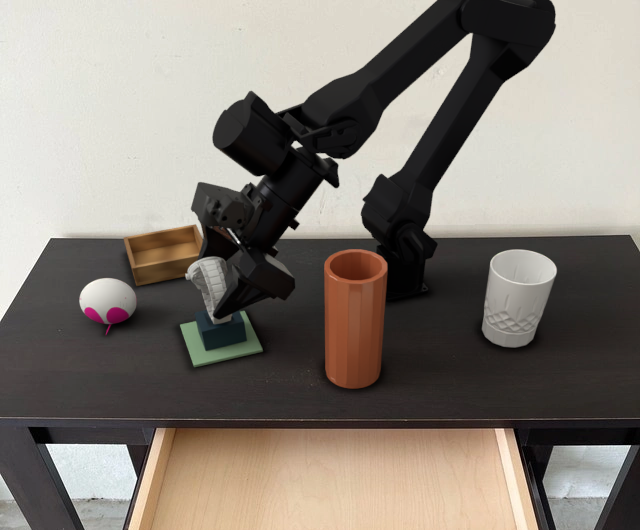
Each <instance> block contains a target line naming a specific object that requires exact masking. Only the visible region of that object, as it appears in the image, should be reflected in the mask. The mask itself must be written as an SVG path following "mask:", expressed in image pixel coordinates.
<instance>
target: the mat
mask: <svg viewBox="0 0 640 530" xmlns="http://www.w3.org/2000/svg"><path fill="white" fill-rule="evenodd" d="M240 314H241V316H242V318H243V320H244V323H245V330H246V337H247V341H244V342H240V343H236V344H232V345H228V346H224V347H220V348H216V349H212V350H208V351H205V348H204V345H203V343H202V340H201V338H200V335H199V332H198V328H197V323H196V320H193V321H190V322H186V323H180V324H179V327H180V329H181V333H182V337H183V339H184V341H185V344H186V348H187V350H188V354H189V356H190V359H191V362H192V365H193V367H194V368H198V367H202V366H206V365H211V364H216V363H220V362H224V361H229V360H232V359H237V358H241V357H245V356H246V357H247V356H250V355H254V354H258V353H263V352H264V350H263V346H262V345H261V343H260V340H259V338H258V336H257V334H256V332H255V330H254V328H253V325H252V324H251V321H250V320H249V317H248V315H247V313H246V311H245V310H240Z"/></svg>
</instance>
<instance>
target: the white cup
mask: <svg viewBox="0 0 640 530" xmlns="http://www.w3.org/2000/svg"><path fill="white" fill-rule="evenodd" d="M557 273H558V268H557V266H556V264H555V262H554V261H553V260H551V259H550V258H549V257H547V256H545V255H544V254H542V253H539V252H537V251H532V250H527V249H508V250H504V251H501V252H499V253H497V254H495V255H494V256H493V257H492V258H491V259H490V263H489V269H488V276H487V283H486V289H485V296H484V297H485V298H484V305H483V320H482V326H481V331H482V333H483V335H484V337H485V338H486V339H487V340H488V341H490V342H491V343H492V344H495V345H497V346H501V347H503V348H520V347H524V346H527V345H528V344H529V343H531V342H532V341H533V340H534V337H535V334H536V331H537V328H538V326H539V323H540V322H541V320H542V316H543V314H544V311H545V308H546V306H547V304H548V300H549V297H550V294H551V291H552V288H553V285H554V282H555V280H556V276H557Z"/></svg>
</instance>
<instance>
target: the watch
mask: <svg viewBox="0 0 640 530" xmlns="http://www.w3.org/2000/svg"><path fill="white" fill-rule="evenodd" d="M228 272H229V270H228V267H227V261H225V260H224V259H222V258H220V257H207V258H203V259H200V260H198V261H196V262H194V263H193V264H192V265H191V266H190V267H189V268H188V274H185V275H186V276H185V280H186V281H189V280H190V281H191V283H192V284H194V285H195V287H196V288H197V290H201V294H202V298H203V300H204V305H205V307H206V309H204V310H200V311H195V312H194V313H193V315H194V317H195V318H194V319H195V321H196V323H197V328H198V332H199V335H200V338H201V340H202V343H203V345H204V348H205V351H208V350H212V349H216V348H220V347H224V346H228V345H232V344H236V343H240V342H244V341H247V337H246V330H245V323H244V320H243V318H242V316H241V314H240V312H241V310H239V311H237V312H235V313H233V314H231V315H229V316H227V317H225V318H223V319H221V320H218V319H216V318H214V317H213V312H214V310H215V308H216V306H217V305H218V303H219V301H220V300H221V298H222V297H223V295H224V293H225V292H226V290H227V288H228V287H227V284H226V281H225V280H226V279H225V277H227V275H228Z"/></svg>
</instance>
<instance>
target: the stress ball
mask: <svg viewBox="0 0 640 530" xmlns="http://www.w3.org/2000/svg"><path fill="white" fill-rule="evenodd" d="M77 299H79V306H80V309H81V311H82V312H83V314H84V315H85V316H86V317H87V318H89V319H90V320H92V321H94V322H95V323H99V324H102V325H103V324H104V325H108V327H107V329H106V333H105V335H107V334H108V332H109V330H110V328H111V326H112V325H114V324H119V323H122V322H124V321H126V320H128V319H129V318H130V317H131V316H132V315H133V314H134V312H135V310H136V309H137V305H138V298H137V295H136V293H135V291H134V289H133V288H132V286H130V285H129V284H128V283H126V282H125V281H123V280H120V279H117V278H111V277H104V278H97V279H95V280H93V281H91V282H89V283H88V284H86V285H85V286H84V288H82V291H81V292H80V295H79V297H78V298H77Z"/></svg>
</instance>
